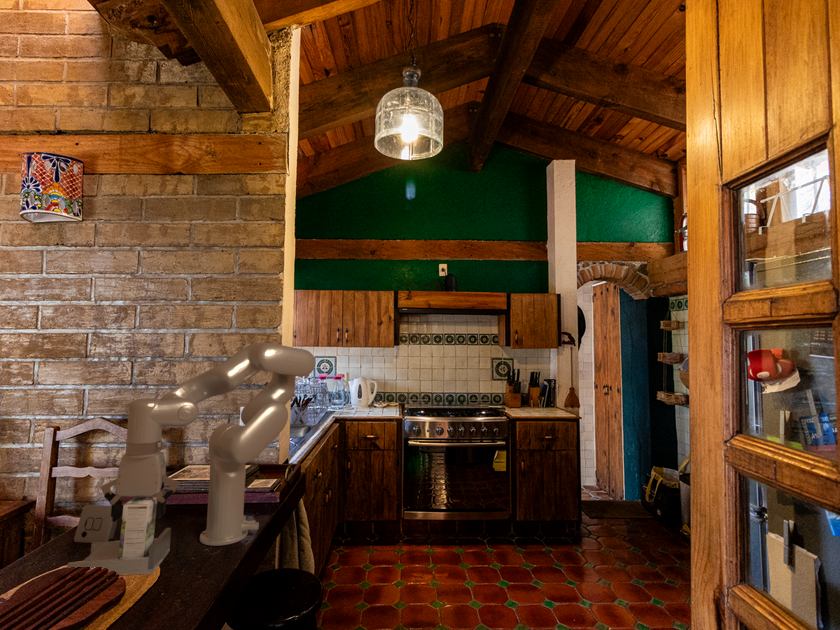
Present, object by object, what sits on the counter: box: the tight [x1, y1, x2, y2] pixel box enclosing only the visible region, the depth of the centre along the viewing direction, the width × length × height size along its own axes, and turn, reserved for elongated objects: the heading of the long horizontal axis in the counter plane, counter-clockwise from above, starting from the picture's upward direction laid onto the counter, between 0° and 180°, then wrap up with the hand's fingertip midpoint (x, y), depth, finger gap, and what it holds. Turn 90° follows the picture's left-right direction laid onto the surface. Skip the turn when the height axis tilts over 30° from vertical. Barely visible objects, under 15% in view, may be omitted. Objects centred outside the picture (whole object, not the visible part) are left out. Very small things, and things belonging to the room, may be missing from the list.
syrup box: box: [118, 495, 158, 559], centre depth 109 cm, size 6×6×14 cm
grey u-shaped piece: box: [66, 527, 172, 575], centre depth 108 cm, size 18×12×6 cm, turn 103°
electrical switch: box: [73, 504, 119, 544], centre depth 122 cm, size 9×5×9 cm, turn 86°
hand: (138, 518), depth 109 cm, fingers open, 9 cm apart
